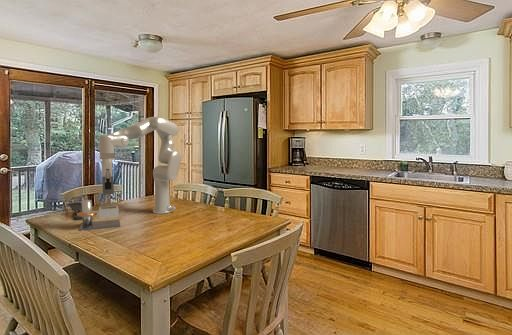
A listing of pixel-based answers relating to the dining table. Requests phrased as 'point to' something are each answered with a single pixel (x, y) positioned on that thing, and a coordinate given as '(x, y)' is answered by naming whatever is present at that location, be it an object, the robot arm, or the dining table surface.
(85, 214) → the grey boxy fixture
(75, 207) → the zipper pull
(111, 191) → the grey block
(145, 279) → the dining table surface
